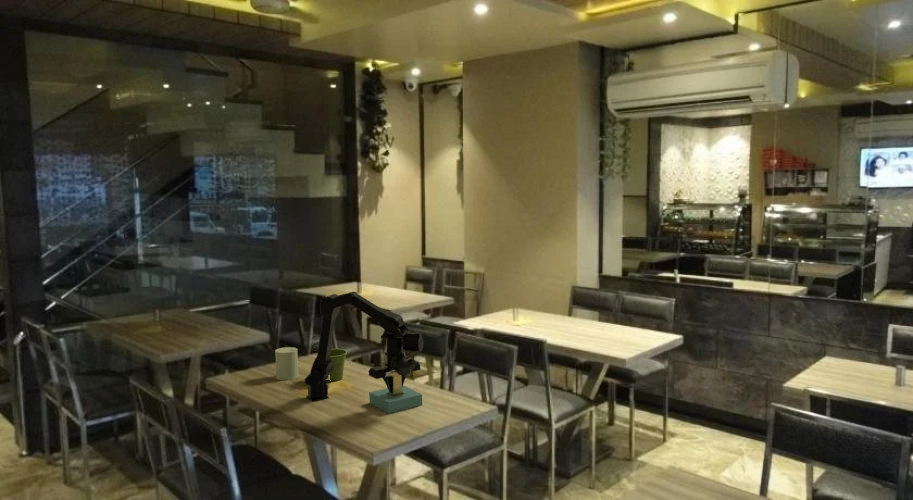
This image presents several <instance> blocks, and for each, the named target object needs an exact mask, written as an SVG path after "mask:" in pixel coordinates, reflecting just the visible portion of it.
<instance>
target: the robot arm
mask: <svg viewBox="0 0 913 500" xmlns="http://www.w3.org/2000/svg"><path fill="white" fill-rule="evenodd" d="M346 305H351V306H352V307H354V308H356V309H357V310H359V311H360V312H362V313H364V314H365V315H367V316H368V317H371V318H372V319H373V320H375V321H376V322H377V323H378V324H379V326H380V327H381V328H382V329H383V330H384V332H383V334H382V335H380V339H386V341H385V342H386V345H385V346H386V351H384V356H386V362H385V363H384V365H385V367H384V368H383V367H382V366H379V365H377V366H373V367H370V368H369V370H368V376H370V377H372V378H373V379H376V380H378V379H383V382H384V383H385V385H386V388H388V390H389V392H390V393H392V379H393V376H391V374H392V373H398V374H399V375H401V376H402V387H403V385H404V384H405V380H406V378H407V377H408V376H409V375H412V372H411V371H413V372H418V371H420V370H421V363H420V362H419V361H416V359H415V358H409V359H406V355H405V353H404V352H403V350H404V351H405V352H415V353H417V352H419V353H420V352H422V351H423V350H424V349H423V348H424V341H425V340H424V339H423V336H422V333H421V332H418V331H417V332H411V331H410V329H409V328H408V327H407V325H406V323H405V322H404V318H403V317H402V316H401V315H400V314H398V313H395V312H392V311H388V310H385V309H382V308H381V307H380V306H378V305H376V304H375V303H373V302H372V301H370V300H368V299H366V298H365V297H364V296H361V295H360V294H359V293H358V292H356V291H351V292H347V293H342V294H339V295H338V294H336V293H333V294H330V295H327V296H324V297H323V298H322V299H321V300H320V304H319V309H320V311H319V312H320V315H321V318H322V319H321V320H322V321H321V328H320V334H319V340H318V341H319V342H318V348H317V354H316V357H315V359H314V361H313V363H312V366H311V368H310V371H309V372H310V373H309V374H308V375H307V376H306V377H305V378H304V384H305V385H307V395H306V397H305V398H307V399H309V400H310V401H312V402H315V401H320V400H325V399H329V398H330V397H329V396H328V395H329V390H328V384H327V380H326V379H327V378H328V375H330V374H331V372H332V371H333V370H334V368H333V365H334V362H335V360H331V357H330V352H331V349H332V343H333V338H334V337H333V336H334V330H335V323H336V319H337V316H338V315H339V313H340V310H341V308H342V307H343V306H346Z"/></svg>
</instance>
